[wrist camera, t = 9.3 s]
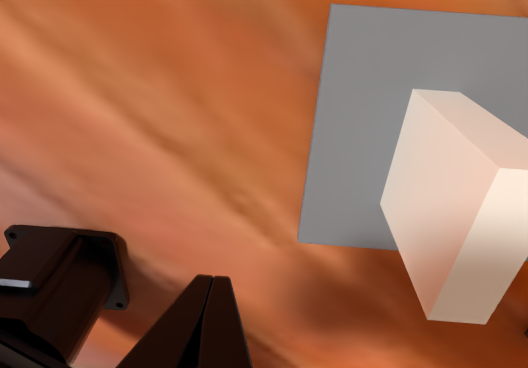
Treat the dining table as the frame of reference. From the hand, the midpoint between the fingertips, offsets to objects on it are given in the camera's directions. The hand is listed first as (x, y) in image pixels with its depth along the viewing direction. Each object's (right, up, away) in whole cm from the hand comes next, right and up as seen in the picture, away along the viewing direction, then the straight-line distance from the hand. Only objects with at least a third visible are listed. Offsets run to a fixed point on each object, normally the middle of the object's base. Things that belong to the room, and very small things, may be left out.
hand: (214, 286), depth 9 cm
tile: (+8, +4, +7) cm, 12 cm away
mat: (+11, +4, +8) cm, 14 cm away
